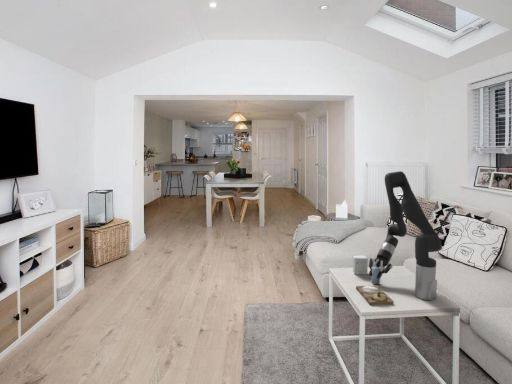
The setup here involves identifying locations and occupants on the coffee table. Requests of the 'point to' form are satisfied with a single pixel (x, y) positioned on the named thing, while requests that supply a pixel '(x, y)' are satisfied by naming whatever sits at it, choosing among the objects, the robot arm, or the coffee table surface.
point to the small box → (360, 264)
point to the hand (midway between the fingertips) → (374, 276)
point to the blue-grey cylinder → (375, 275)
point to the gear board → (374, 295)
